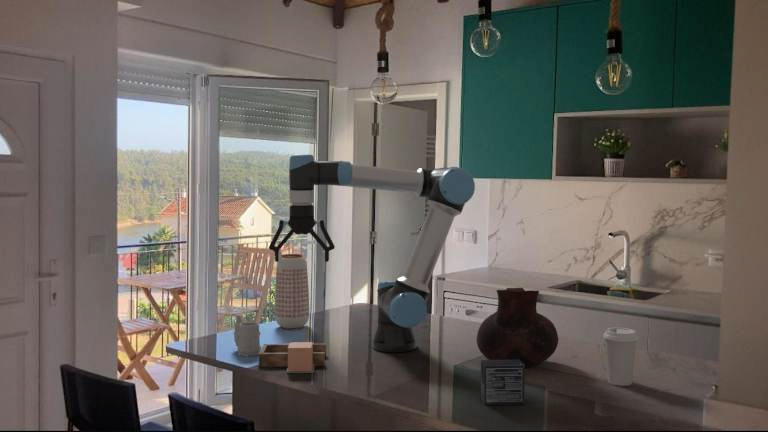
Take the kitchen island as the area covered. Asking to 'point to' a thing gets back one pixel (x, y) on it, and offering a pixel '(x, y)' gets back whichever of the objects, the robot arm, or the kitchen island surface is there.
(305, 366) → the block
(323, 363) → the wooden tray
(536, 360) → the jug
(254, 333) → the mug
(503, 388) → the small box
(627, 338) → the coffee cup
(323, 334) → the kitchen island surface
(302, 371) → the mat
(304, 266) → the patterned vase
